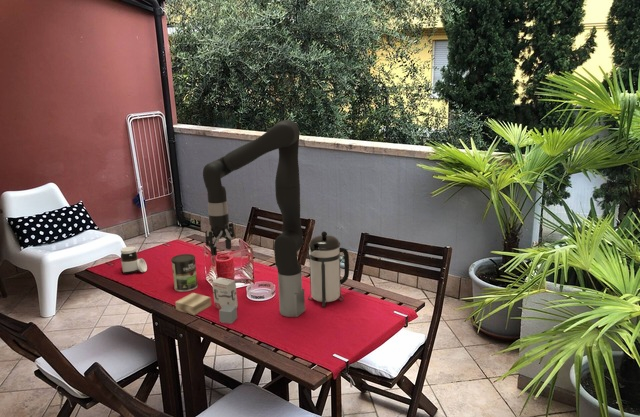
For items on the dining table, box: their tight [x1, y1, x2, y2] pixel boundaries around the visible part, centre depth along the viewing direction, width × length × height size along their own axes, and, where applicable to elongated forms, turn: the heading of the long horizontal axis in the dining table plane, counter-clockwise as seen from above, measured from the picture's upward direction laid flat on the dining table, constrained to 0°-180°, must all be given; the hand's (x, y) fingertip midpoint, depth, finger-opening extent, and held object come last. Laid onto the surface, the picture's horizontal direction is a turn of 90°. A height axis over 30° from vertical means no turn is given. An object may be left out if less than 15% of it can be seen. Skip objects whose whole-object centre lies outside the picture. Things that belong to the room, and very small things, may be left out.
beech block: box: [174, 292, 212, 316], centre depth 209 cm, size 10×10×4 cm
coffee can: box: [170, 253, 199, 293], centre depth 228 cm, size 10×10×14 cm
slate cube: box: [218, 305, 238, 325], centre depth 197 cm, size 5×5×5 cm
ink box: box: [211, 277, 239, 310], centre depth 207 cm, size 9×5×12 cm, turn 62°
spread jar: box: [120, 246, 148, 275], centre depth 249 cm, size 12×11×12 cm
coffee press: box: [307, 231, 350, 308], centre depth 210 cm, size 17×16×30 cm
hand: (221, 252), depth 202 cm, fingers open, 8 cm apart
